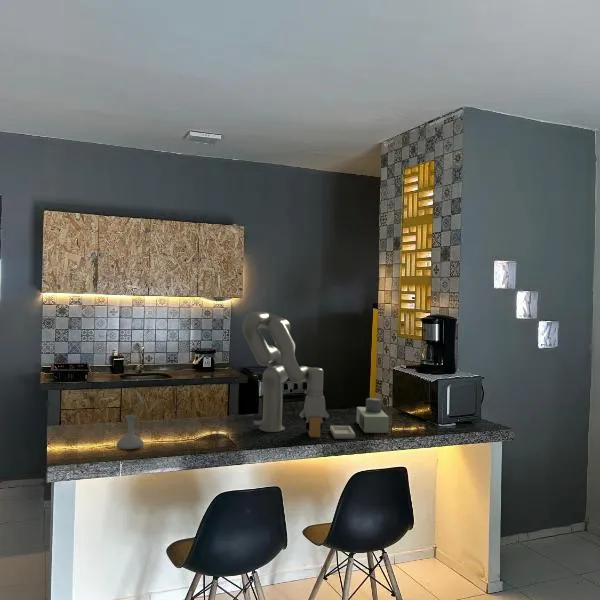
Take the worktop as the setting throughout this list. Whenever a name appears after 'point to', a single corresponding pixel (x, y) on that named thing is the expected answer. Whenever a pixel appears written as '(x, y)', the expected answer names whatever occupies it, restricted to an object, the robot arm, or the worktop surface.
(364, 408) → the block with top knob
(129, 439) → the flower in vase
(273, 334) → the robot arm
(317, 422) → the chute block
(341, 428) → the frame
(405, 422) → the worktop surface
